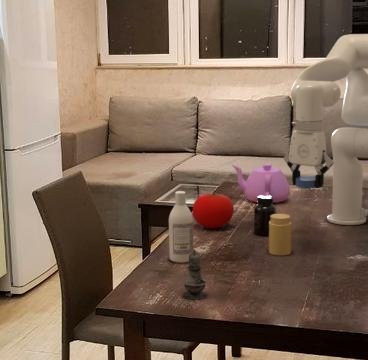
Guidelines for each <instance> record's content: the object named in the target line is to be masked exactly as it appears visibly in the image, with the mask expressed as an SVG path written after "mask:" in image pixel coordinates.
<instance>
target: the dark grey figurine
mask: <svg viewBox="0 0 368 360" xmlns="http://www.w3.org/2000/svg"><path fill="white" fill-rule="evenodd" d="M186 268H187V269H188V276H187V278H185V279H183V281H182V283H183V285H184V288H185V290H186V292H185V293H184V294H183V295H184V297H185V298H186V299H190V300H201V299H203V298H205V297H206V293H205V292H203V291H204V290H205V288H206V284H207V279H204V278H202V272H201V271H202V270H201V269H203V266H202V265H201V255H200V253H198V252H196V250H195V249H194V248H193V253H191V254H190V255H189V262H188V265H187V267H186Z"/></svg>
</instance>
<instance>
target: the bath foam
mask: <svg viewBox="0 0 368 360" xmlns="http://www.w3.org/2000/svg"><path fill="white" fill-rule="evenodd" d="M186 193H187V192H185V191H184V190H177V191H175V192H174V196H175V197H174V198H175V200H174V202H175V204H174V206H173V207H172V209H171V211H170V213H169V216H168V253H169V260H170V261H171V262H174V263H180V264H181V263H184V264H185V263H189V255H190V254H191V253H193V251H194V216H193V213H192V212H191V210H190V208H189V207H188V206H187V203H186V202H187V196H186Z"/></svg>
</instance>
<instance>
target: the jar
mask: <svg viewBox="0 0 368 360" xmlns="http://www.w3.org/2000/svg"><path fill="white" fill-rule="evenodd" d="M270 217H271V220H270V222H269V236H268V254H271V255H274V256H288V255H290V254H291V253H292V221H291V219H292V218H291V216H290V215H289V214H288V213H287V214H286V213H276V214H273V215H271V216H270Z"/></svg>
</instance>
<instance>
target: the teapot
mask: <svg viewBox="0 0 368 360" xmlns="http://www.w3.org/2000/svg"><path fill="white" fill-rule="evenodd" d="M231 167H233V168H234V169H235V171H236V175H237V185H238V187H239V189H240V190H241V191H243V193H244V195H245V197H246V198H247V199H248V200H249V201H251V202H255V203H257V201H258V196H271V197H273V203H274V204H276V203H277V204H278V203H281V202H284V201H285V200H286V199H287V198H288V197H289V196H290V194H291V188H290V184H289V182H288V179H287V177H286V176H285V174H284V173H283V171H282V169H281V168H278V167H272V164H271V163H263V164H262V167H256V168H254V169H253V170H252V171H251V173H250V174H249V176H248V178H247V179H246V180H245V179H244V177H243V171H242V169H241V167H239V166H238V165H233V164H232V165H231Z"/></svg>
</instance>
